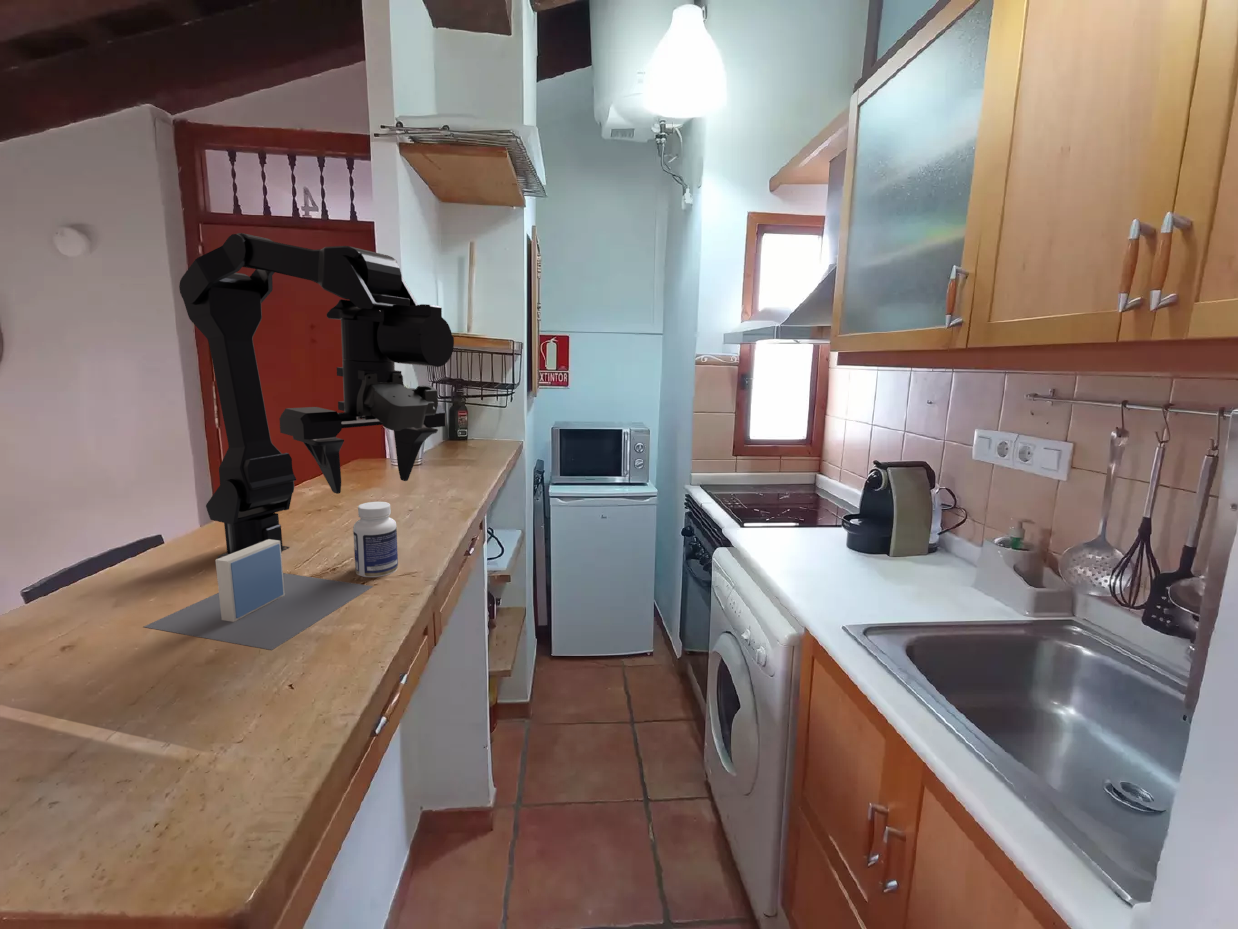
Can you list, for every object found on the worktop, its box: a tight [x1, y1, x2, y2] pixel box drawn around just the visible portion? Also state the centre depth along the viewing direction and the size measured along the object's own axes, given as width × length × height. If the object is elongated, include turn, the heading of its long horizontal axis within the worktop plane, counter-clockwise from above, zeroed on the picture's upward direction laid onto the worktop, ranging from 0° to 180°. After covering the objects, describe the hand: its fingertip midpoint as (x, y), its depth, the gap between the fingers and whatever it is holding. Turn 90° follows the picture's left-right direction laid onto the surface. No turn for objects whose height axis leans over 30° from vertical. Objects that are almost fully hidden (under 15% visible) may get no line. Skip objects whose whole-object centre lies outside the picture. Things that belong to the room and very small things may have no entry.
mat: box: [143, 572, 374, 651], centre depth 65 cm, size 16×16×1 cm
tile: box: [215, 539, 285, 622], centre depth 63 cm, size 2×7×7 cm, turn 168°
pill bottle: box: [352, 501, 399, 578], centre depth 75 cm, size 5×5×10 cm
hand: (372, 486), depth 70 cm, fingers open, 9 cm apart
